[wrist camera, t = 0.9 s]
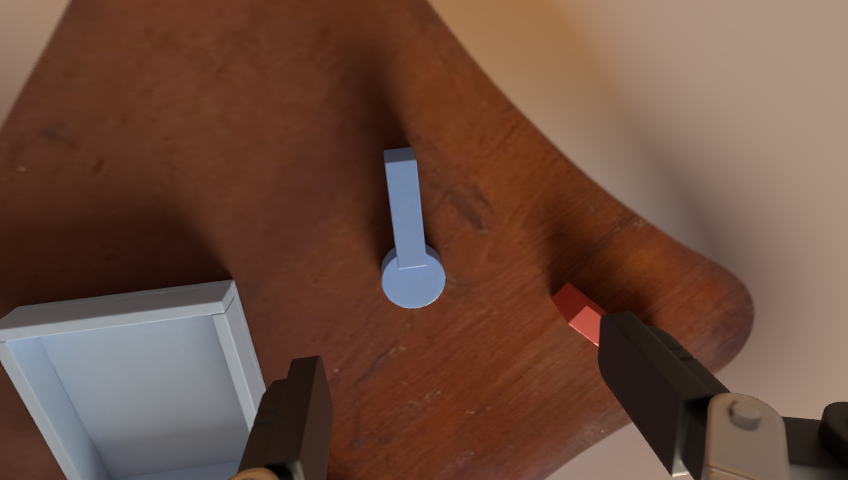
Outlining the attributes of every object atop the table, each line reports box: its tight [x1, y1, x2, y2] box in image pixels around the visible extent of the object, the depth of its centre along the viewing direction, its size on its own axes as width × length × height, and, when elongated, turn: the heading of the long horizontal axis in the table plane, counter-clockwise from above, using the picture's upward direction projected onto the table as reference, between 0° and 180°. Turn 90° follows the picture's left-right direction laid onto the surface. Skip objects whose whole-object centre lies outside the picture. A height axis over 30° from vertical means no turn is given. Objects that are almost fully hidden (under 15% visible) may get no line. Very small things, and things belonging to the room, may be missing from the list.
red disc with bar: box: [551, 282, 647, 346], centre depth 30 cm, size 10×4×3 cm, turn 50°
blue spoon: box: [381, 147, 445, 308], centre depth 26 cm, size 10×4×3 cm, turn 5°
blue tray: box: [0, 280, 266, 480], centre depth 29 cm, size 15×13×3 cm
